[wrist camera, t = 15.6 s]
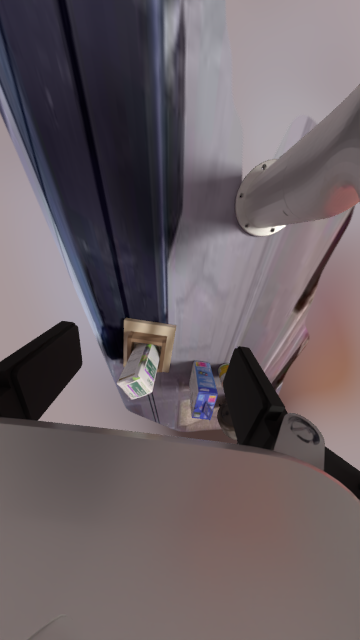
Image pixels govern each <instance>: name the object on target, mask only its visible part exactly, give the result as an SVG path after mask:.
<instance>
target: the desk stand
mask: <svg viewBox="0 0 360 640" xmlns="http://www.w3.org/2000/svg"><path fill="white" fill-rule="evenodd" d="M175 331H176V325H170V324H163V323H157V322H150V321H143V320H136V319H130V318H125V320H124V367H125V366H126V363H127V361H128V359H129V357H130V355H131V353H132V351H133V349H134V347H135V345H137V344H139V343H145V344H152V345H157V347H158V348H159V350H160V351H161V354H160V359H159V363H158V367H157V372H168V373H169V367H170V361H171V355H172V349H173V343H174V337H175Z"/></svg>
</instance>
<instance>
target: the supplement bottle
mask: <svg viewBox="0 0 360 640" xmlns="http://www.w3.org/2000/svg"><path fill="white" fill-rule="evenodd" d="M228 366H229V363H226V364H223V365H221V366H220V367H219V369H218V373H219V377H220V381H221V385H222V388H223V380H224V377H225V374H226V371H227V369H228ZM223 390H224V389H223Z"/></svg>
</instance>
